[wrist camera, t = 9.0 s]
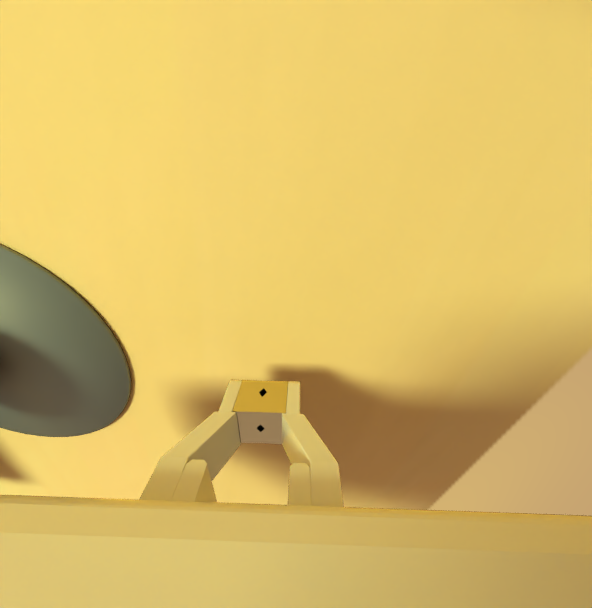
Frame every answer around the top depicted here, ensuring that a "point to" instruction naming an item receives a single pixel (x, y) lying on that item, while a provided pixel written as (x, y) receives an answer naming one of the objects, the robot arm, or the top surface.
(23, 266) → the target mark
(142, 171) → the top surface
